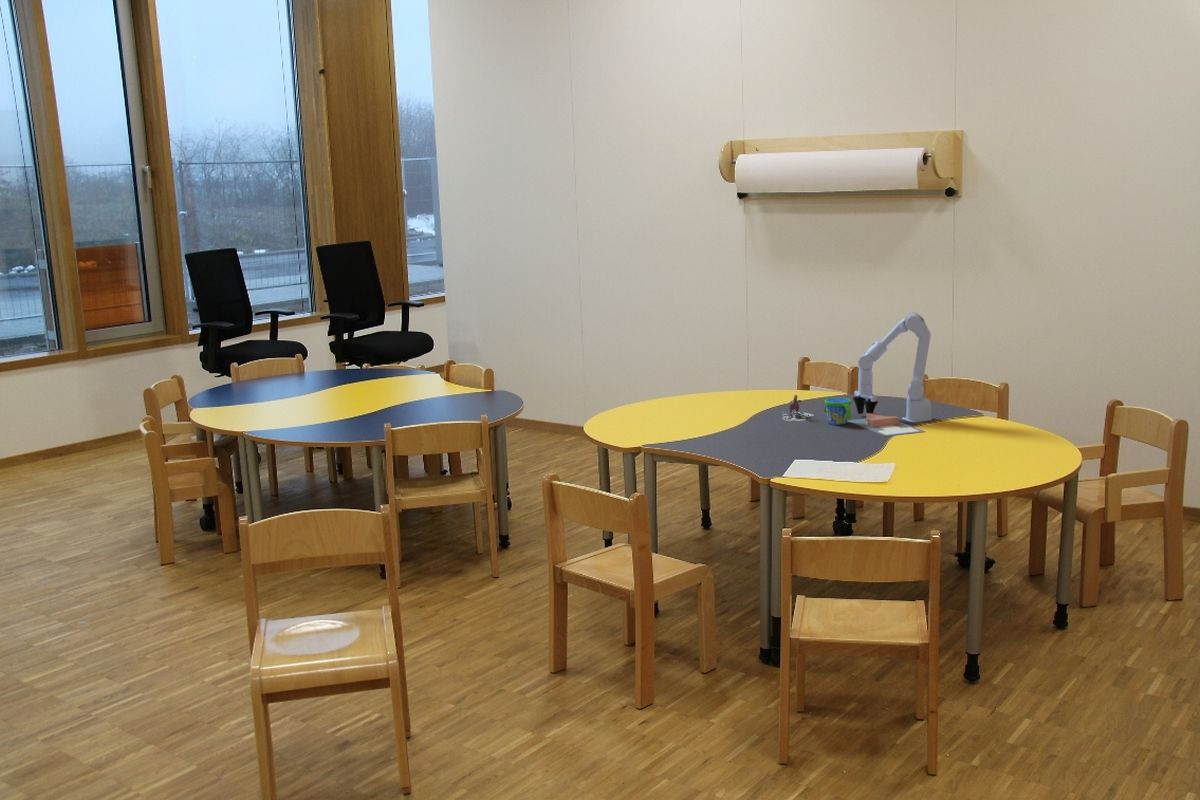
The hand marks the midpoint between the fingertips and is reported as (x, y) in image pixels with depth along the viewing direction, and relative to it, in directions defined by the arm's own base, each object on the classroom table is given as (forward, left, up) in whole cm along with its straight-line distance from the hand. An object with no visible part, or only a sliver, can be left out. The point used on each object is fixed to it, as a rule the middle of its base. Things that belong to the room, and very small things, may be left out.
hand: (864, 415), depth 472 cm
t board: (0, +16, -1) cm, 16 cm away
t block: (0, +12, -1) cm, 12 cm away
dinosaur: (+24, -17, -2) cm, 30 cm away
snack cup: (+15, +4, -2) cm, 16 cm away
